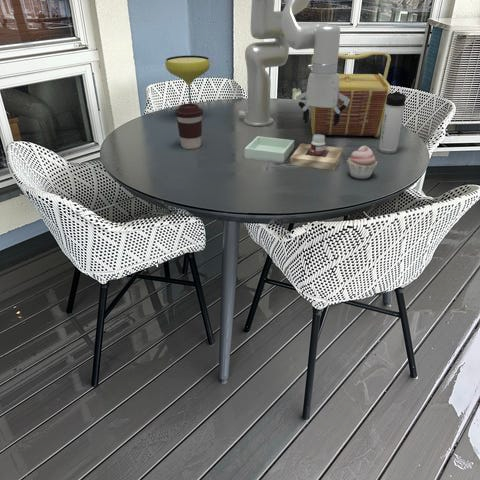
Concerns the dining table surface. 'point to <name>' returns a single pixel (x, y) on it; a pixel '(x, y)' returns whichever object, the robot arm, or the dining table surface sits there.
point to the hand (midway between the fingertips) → (320, 123)
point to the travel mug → (392, 122)
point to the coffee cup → (189, 125)
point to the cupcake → (362, 163)
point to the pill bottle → (318, 145)
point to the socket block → (316, 157)
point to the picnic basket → (355, 103)
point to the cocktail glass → (188, 68)
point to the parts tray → (269, 149)
